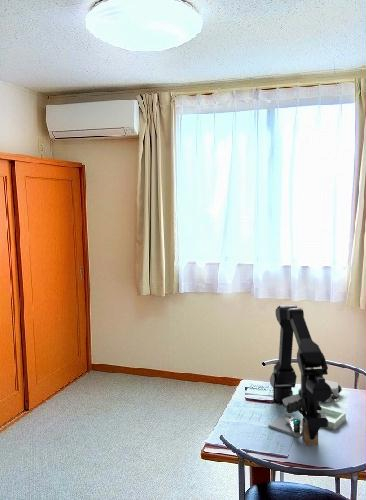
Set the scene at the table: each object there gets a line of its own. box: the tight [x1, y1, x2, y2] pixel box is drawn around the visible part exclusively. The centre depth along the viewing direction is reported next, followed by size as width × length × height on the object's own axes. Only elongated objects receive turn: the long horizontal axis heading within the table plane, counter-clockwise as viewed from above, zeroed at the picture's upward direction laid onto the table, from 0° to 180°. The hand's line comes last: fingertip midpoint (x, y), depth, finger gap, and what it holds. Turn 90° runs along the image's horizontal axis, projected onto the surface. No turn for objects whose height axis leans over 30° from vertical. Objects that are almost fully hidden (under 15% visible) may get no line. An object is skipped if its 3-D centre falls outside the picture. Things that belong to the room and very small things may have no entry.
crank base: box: [267, 413, 302, 437], centre depth 158 cm, size 11×11×1 cm
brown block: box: [301, 417, 319, 446], centre depth 147 cm, size 4×4×7 cm
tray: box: [317, 405, 347, 431], centre depth 161 cm, size 10×10×2 cm
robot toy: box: [320, 379, 343, 403], centre depth 181 cm, size 12×4×15 cm
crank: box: [285, 415, 302, 438], centre depth 154 cm, size 12×4×5 cm, turn 179°
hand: (310, 435), depth 147 cm, fingers closed on brown block, 4 cm apart
